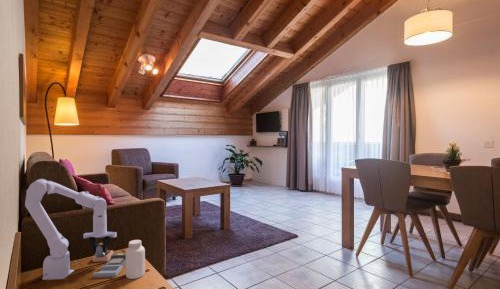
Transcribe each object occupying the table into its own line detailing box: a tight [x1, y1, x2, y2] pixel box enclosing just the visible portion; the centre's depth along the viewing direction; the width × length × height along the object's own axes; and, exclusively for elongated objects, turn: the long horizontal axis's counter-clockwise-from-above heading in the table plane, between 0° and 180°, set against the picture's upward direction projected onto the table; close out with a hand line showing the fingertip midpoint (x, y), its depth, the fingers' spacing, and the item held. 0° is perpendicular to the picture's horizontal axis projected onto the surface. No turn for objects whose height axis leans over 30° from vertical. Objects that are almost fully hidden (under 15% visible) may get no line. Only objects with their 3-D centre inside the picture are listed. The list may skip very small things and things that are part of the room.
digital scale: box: [103, 253, 126, 267], centre depth 137 cm, size 10×8×3 cm
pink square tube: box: [92, 249, 114, 263], centre depth 143 cm, size 7×7×3 cm
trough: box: [92, 265, 124, 279], centre depth 128 cm, size 10×8×2 cm
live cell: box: [95, 242, 105, 258], centre depth 134 cm, size 4×4×6 cm
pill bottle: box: [125, 239, 146, 280], centre depth 126 cm, size 8×8×15 cm
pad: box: [109, 258, 124, 265], centre depth 137 cm, size 5×5×1 cm
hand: (100, 252), depth 134 cm, fingers closed on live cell, 4 cm apart
